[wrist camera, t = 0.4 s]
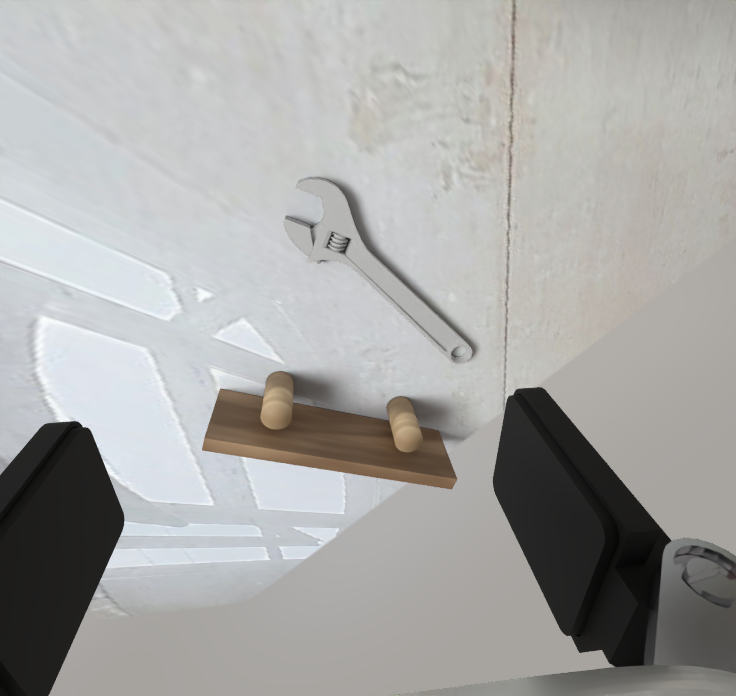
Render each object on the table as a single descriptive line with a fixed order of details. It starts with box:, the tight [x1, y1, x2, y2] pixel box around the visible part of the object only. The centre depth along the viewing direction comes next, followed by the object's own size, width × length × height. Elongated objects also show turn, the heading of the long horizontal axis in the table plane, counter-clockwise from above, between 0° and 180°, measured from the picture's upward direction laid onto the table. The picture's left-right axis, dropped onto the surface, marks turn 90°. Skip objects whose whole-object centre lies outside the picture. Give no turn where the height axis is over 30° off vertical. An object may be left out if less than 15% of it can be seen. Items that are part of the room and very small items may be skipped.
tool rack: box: [202, 371, 457, 489], centre depth 46 cm, size 5×26×8 cm, turn 72°
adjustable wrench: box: [283, 177, 472, 365], centre depth 43 cm, size 25×6×2 cm, turn 40°
